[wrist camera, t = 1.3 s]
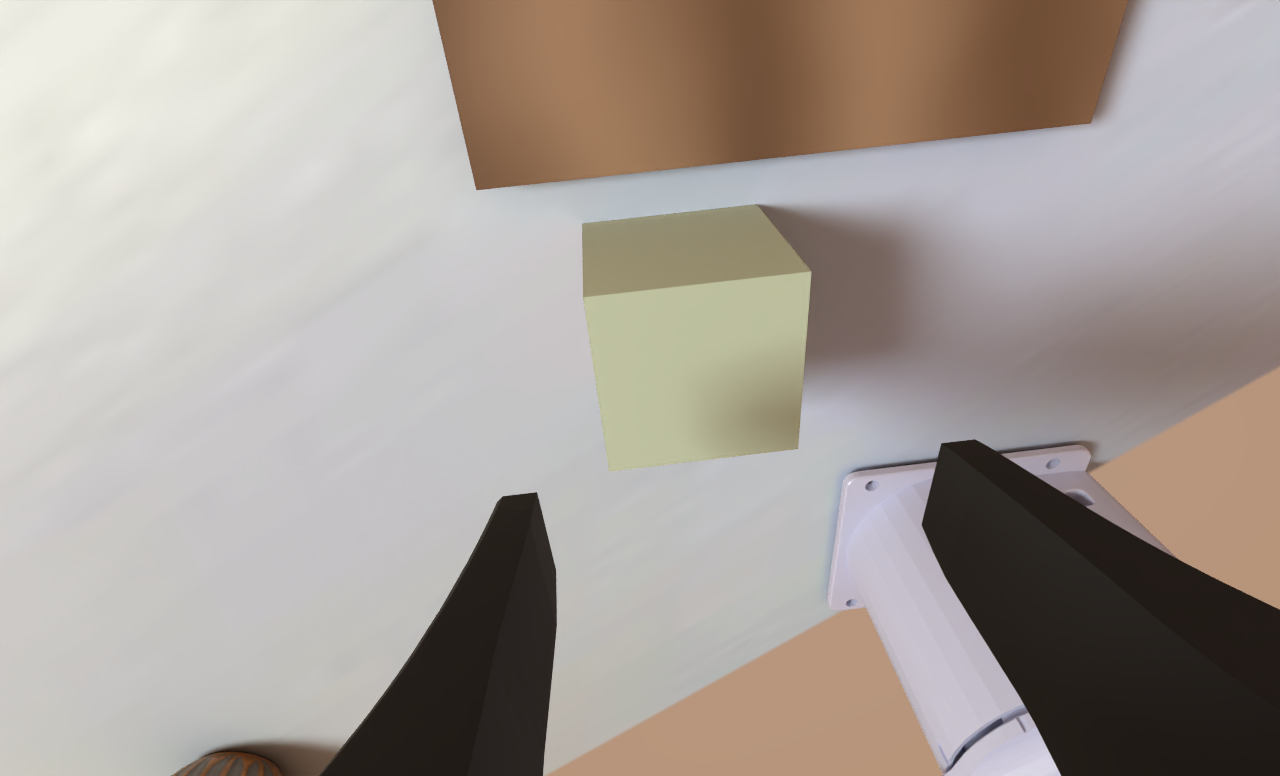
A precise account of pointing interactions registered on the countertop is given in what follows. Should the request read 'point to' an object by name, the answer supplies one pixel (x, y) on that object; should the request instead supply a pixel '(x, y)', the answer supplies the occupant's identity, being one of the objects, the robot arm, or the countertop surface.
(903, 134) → the walnut board
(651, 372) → the sage block
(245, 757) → the vase
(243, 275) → the countertop surface
